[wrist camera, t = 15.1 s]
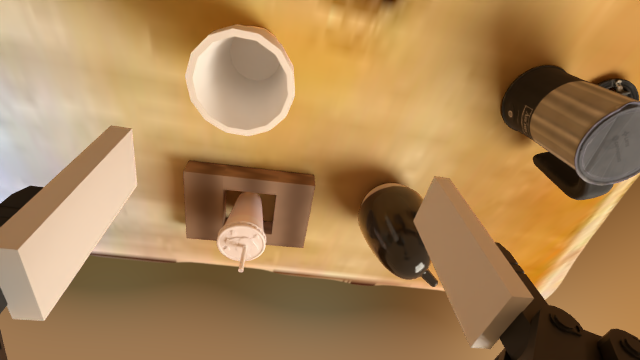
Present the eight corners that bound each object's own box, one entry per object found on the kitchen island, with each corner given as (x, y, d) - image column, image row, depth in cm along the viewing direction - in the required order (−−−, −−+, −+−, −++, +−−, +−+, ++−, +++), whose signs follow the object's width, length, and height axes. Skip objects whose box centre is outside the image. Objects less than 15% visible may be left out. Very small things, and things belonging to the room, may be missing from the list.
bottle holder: (191, 225, 54) (186, 238, 51) (189, 160, 48) (183, 171, 45) (302, 235, 56) (303, 247, 54) (314, 175, 50) (315, 186, 48)
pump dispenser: (382, 234, 57) (407, 311, 45) (341, 202, 53) (355, 276, 40) (431, 199, 54) (473, 271, 41) (390, 160, 50) (423, 227, 37)
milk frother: (491, 89, 45) (567, 136, 32) (616, 17, 41) (759, 39, 28) (519, 165, 51) (590, 228, 39) (628, 109, 47) (747, 160, 35)
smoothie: (262, 222, 54) (253, 292, 42) (223, 210, 53) (202, 280, 41) (276, 191, 51) (270, 258, 39) (235, 178, 50) (217, 243, 38)
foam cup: (310, 46, 40) (315, 76, 29) (268, 106, 44) (259, 152, 33) (241, -8, 37) (218, 2, 26) (202, 61, 41) (167, 96, 30)
